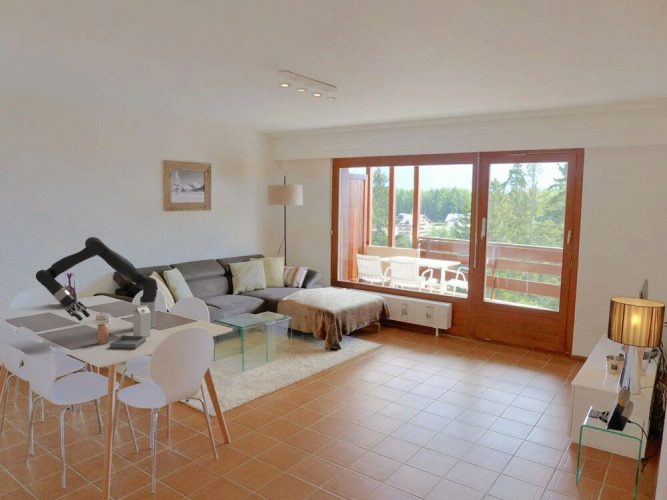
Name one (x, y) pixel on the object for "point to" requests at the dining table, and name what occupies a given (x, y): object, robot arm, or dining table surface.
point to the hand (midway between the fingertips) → (85, 318)
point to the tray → (128, 342)
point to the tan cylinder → (102, 333)
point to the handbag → (71, 289)
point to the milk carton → (141, 321)
